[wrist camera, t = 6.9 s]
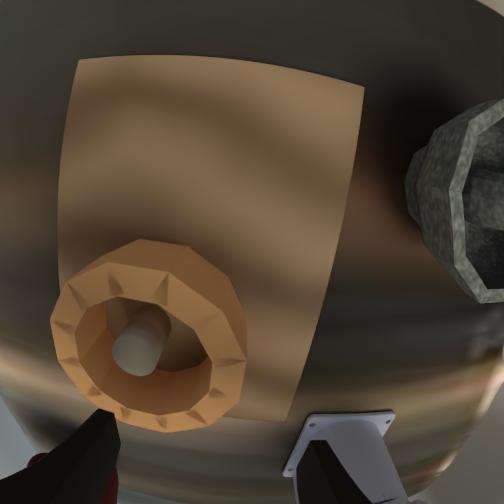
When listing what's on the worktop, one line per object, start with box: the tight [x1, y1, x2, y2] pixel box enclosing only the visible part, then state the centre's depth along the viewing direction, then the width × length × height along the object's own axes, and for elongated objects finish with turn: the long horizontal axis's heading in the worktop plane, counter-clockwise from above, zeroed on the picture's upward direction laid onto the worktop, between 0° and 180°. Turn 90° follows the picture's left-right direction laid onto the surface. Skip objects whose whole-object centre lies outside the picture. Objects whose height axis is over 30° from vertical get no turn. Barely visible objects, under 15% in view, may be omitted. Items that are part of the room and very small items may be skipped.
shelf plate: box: [57, 55, 364, 422], centre depth 15 cm, size 22×16×5 cm
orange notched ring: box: [50, 239, 247, 433], centre depth 15 cm, size 10×10×4 cm
